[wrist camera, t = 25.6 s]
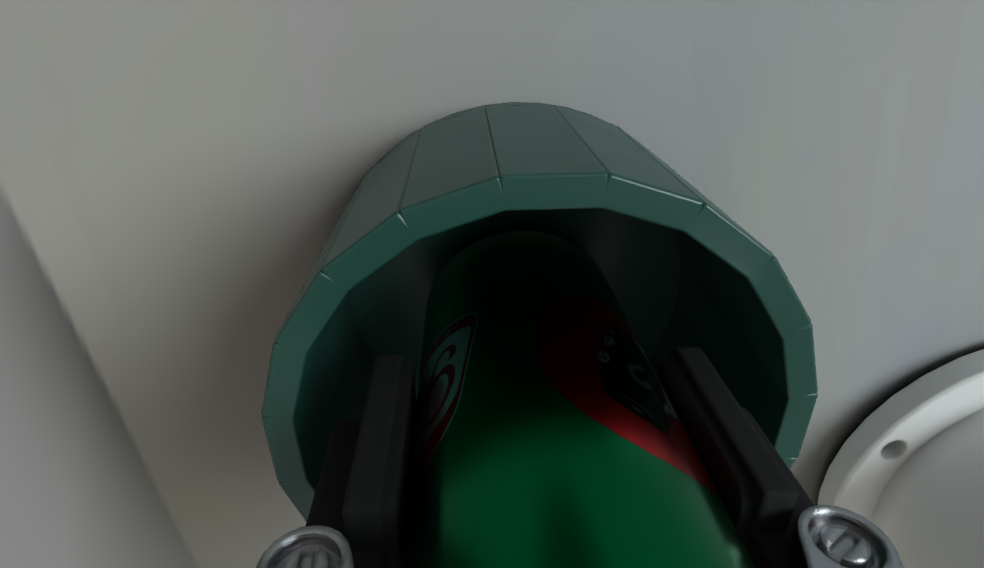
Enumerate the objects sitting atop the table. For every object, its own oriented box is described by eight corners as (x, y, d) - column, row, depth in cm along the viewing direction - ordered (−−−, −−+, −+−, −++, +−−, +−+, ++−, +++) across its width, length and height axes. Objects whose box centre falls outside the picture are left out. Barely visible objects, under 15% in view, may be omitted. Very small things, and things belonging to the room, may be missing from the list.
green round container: (468, 9, 14) (474, 23, 8) (769, 243, 17) (930, 375, 11) (268, 330, 17) (173, 499, 12) (546, 471, 21) (580, 657, 15)
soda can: (423, 221, 15) (333, 841, 4) (617, 221, 15) (1016, 797, 4) (429, 381, 17) (383, 1043, 6) (597, 378, 17) (824, 1005, 7)
